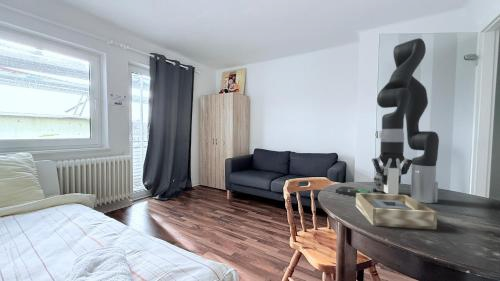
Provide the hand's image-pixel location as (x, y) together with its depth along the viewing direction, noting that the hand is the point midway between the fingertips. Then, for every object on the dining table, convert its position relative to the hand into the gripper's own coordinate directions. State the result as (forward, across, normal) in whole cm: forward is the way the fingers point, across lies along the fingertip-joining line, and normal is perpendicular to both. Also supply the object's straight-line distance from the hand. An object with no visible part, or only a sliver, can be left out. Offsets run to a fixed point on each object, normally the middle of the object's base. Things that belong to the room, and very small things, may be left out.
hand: (390, 184), depth 85 cm
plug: (+3, 0, 0) cm, 3 cm away
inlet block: (+12, 0, 0) cm, 12 cm away
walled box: (+13, 0, 0) cm, 13 cm away
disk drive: (+13, +6, -30) cm, 33 cm away
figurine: (+13, -10, -34) cm, 38 cm away
